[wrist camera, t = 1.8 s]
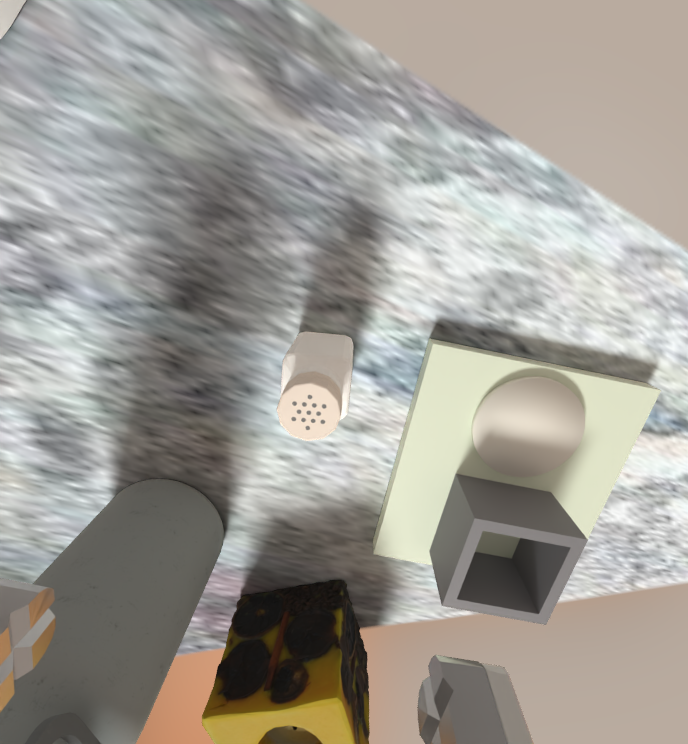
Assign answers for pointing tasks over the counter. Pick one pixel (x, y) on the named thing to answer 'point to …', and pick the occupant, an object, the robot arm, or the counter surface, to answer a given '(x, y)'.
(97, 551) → the water bottle
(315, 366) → the salt shaker
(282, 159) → the counter surface
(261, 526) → the counter surface
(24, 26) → the counter surface
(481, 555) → the cream holder tray
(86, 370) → the counter surface
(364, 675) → the candle
